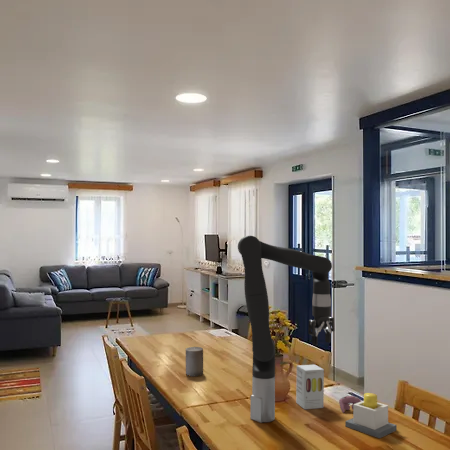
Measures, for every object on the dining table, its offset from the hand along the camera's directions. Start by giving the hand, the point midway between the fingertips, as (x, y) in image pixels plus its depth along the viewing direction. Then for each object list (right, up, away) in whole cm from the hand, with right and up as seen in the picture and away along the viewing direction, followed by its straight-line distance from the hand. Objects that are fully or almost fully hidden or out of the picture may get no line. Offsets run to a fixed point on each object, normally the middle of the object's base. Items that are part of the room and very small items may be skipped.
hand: (321, 343), depth 200 cm
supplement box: (-3, -31, +13) cm, 33 cm away
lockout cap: (+17, -23, -13) cm, 31 cm away
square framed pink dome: (+17, -30, -13) cm, 36 cm away
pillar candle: (-57, -32, +61) cm, 89 cm away
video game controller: (+14, -31, +7) cm, 34 cm away
